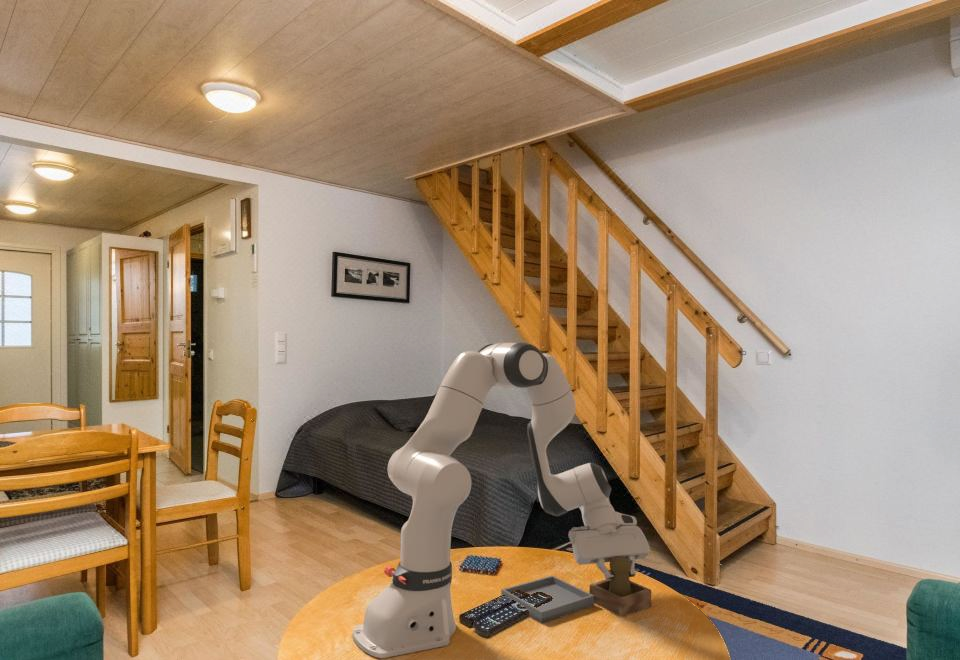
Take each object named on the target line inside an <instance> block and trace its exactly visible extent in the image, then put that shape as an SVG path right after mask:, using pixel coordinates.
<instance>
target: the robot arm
mask: <svg viewBox="0 0 960 660" xmlns="http://www.w3.org/2000/svg"><path fill="white" fill-rule="evenodd" d="M447 370H448V371H447V372H446V374H445V375H444V377H443V379H442V381H441V383H440V386H439V388H438V390H437V392H436V394H435V397H434V399H433V401H432V403H431V405H430V408H429V410H428V412H427V413H426V416H425V418H424V419H423V421H422V422H421V423H420V425H419V427H418V428H416V429H417V430H416V431H415V432H414V433H413V435H412V436H411V437H410V438H409V440H408V441H407V442H406V443H405V444H404V445H403V446H402V447H400V448H399V449H397V450H396V451H395V452H393V453H392V455H391V456H390V458H389V460H388V462H387V475H388V478H389V480H390V481H391V482H392V484H393V485H394V486H395V487H396V488H397V489H398V490H399V491H400V492H402V493H404V494H406V495H408V496H410V497H411V498H412V506H411V510H410V515H409V517H408V519H407V521H406V522H405V523H404V524H403V525H402V527H401V531H400V556H399V557H400V561H399V562H398V564H397V567H396V569H395V568H394V567H393V566H391V565H388V564H387V565H386V566H385V567H384V568H383V574H385V576H388V577H389V578H392V582H390V583H389V584H388V585H387V586H386V587H385V588H384V589H383V590H382V591H381V592H380V593H379V594H378V595H377V596H376V597H374V599H372V600H371V601H370V602H369V604H368V605H367V607H366V609H365V614H364V617H363V623H360V624H358V625H356V626H354V627H353V631H352V639H353V641H354V643H355V644H356V645H357V647H359V648H360V649H361V650H362V651H363V652H364V653H366V654H368V655H370V656H372V657H375V658H378V659H385V658H390V657H395V656H401V655H405V654H411V653H416V652H420V651H421V652H422V651H426V650H431V649H435V648H441V647H445V646H449V644H450V642H451V637H452V635H454V633H455V631H456V629H457V624H456V622H455V617H454V612H453V603H452V596H451V595H452V594H451V593H452V592H451V584H452V578H453V564H452V561H451V543H452V542H451V541H452V528H453V524H454V519H455V516H456V514H457V510H458V509H459V507H460V506H461V505H462V504H463V503H464V502H465V501H466V500H467V498H468V497H469V495H470V493H471V488H472V476H471V473H470V471H469V470H468V467H466V466H465V465H464V464H462V463H461V462H460V461H458V460H457V459H456V458H454V457H453V456H451V454H452V453H453V452H455V450H456V449H457V447H458V446H460V444H462V443H463V442H465V441H467V440H468V439H469V438H470V437H471V435H472V434H473V431H474V429H475V427H476V424H477V422H478V420H479V416H480V414H481V412H482V410H483V407H484V404H485V402H486V400H487V397H488V394H489V392H490V390H492V389H493V388H494V386H496V387H501V388H504V389H505V388H506V389H508V388H509V389H516V388H522V389H523V390H524V391H525V394H526V395H527V399H528V402H529V404H530V407H531V412H532V413H531V419H530V421H529V422H528V423H527V428H526V429H527V430H526V431H527V432H526V433H527V438H528V446H529V450H530V455H531V458H532V464H533V468H534V473H535V477H536V482H537V495H538V501H539V503H540V507H541V508H542V509H543V511H544V512H545V513H547V514H549V515H551V516H555V517H559V516H562V515H564V514H566V513H568V512H569V511H573V510H575V509H578V508H579V510H580V512H581V518H582V523H583V526H578V527H576V526H574V527H572V528H571V529H570V530H568V538H569V541H570V543H571V547H572V552H573V558H574V560H575V562H576V563H577V564H578V565H580V566H582V565H590V564H591V565H592V564H595V565H596V568H597V569H598V570H600V572H601V573H602V574H603V575H604V579H605V580H608V579H612V578H613V577H614V575H613V573H612V570H611V569H610V568H608V567H607V566H606V563H610V560H611V559H612V558H614V557H624V558H627V559H628V560H629V561H630V563H631V570H630V572H629V578H634V577H635V576H636V575H637V571H636V569H635V564H636V560H643V559H646V558H647V556H648V555H649V554H650V552H651V547H650V544H649V542H648V540H647V538H646V536H645V534H644V532H643V531H642V529H641V528H640V527H639V526H638V525H637V523H638V521H637V518H636V517H635V516H633V515H629V514H625V513H622V512H621V513H620V512H618V511H615V509H614V507H613V505H612V504H611V501H610V495H611V492H612V487H611V485H610V484H609V481H608V479H607V474H606V472H605V470H604V468H603V467H602V466H600V465H599V464H597V463H593V462H588V463H584V464H582V465H578V466H575V467H573V468H572V469H569V470H565V471H564V472H559V473H557V474H552V472H551V470H550V464H549V460H548V455H547V447H548V445H549V443H551V441H552V440H553V439H554V438H555V437H556V436H557V435H558V434H559V433H561V432H562V431H563V430H564V429H566V428H567V426H568V425H569V424H570V423H571V421H572V420H573V418H574V416H575V414H576V409H577V407H576V406H577V404H576V400H575V397H574V393H573V391H572V388H571V386H570V385H571V384H570V383H569V381H568V379H567V376H566V374H565V373H564V371H563V369H562V368H561V366H560V364H559V363H558V360H557V359H556V358H555V357H554V356H553V355H551V354H549V353H545V352H542V351H541V349H539V348H538V347H537V346H535V345H534V344H530V343H529V342H510V341H505V342H497V343H490V344H486V345H484V346H482V347H481V348H480V349H478V350H477V351H472V350H468V351H463V352H461V353H460V354H458V355H457V357H455V359H454V361H453V362H452V364H451V365H450V367H449V368H448V369H447Z"/></svg>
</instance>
